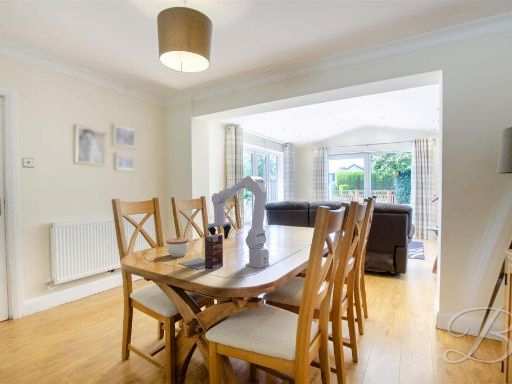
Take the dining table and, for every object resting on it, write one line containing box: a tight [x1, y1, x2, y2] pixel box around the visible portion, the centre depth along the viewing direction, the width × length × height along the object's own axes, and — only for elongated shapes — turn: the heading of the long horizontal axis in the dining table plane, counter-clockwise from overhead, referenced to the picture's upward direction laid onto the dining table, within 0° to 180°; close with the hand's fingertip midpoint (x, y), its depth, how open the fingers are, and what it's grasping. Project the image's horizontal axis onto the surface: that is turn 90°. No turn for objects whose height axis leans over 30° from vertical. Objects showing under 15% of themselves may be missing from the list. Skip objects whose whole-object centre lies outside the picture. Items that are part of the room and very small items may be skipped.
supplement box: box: [204, 233, 224, 272], centre depth 129 cm, size 9×5×16 cm, turn 151°
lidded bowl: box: [166, 236, 190, 258], centre depth 155 cm, size 13×13×11 cm
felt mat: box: [178, 257, 205, 271], centre depth 137 cm, size 17×13×1 cm
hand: (219, 239), depth 148 cm, fingers open, 7 cm apart
